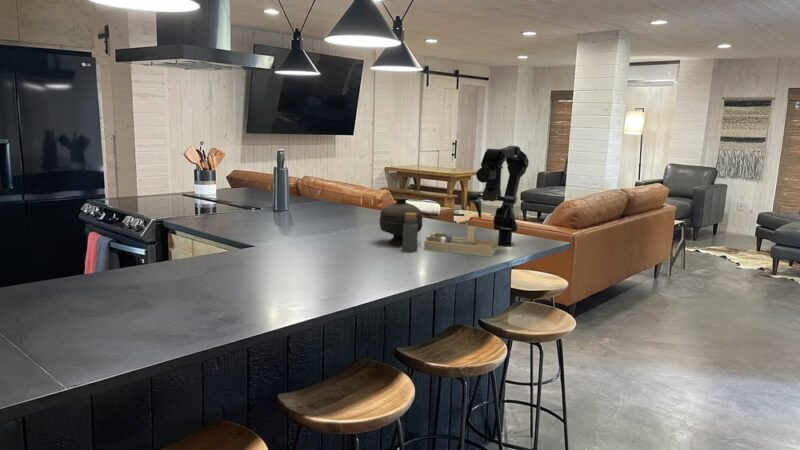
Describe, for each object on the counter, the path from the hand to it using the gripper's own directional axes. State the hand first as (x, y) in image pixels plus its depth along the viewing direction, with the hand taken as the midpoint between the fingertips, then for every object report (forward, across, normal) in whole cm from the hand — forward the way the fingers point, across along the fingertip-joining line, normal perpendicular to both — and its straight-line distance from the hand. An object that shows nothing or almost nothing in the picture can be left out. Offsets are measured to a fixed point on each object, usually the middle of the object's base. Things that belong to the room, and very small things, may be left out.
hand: (491, 219), depth 234 cm
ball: (+10, -18, -5) cm, 21 cm away
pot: (+13, -36, -7) cm, 39 cm away
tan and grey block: (+11, -11, -5) cm, 16 cm away
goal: (+12, -21, -5) cm, 25 cm away
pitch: (+13, -10, -5) cm, 17 cm away
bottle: (+13, -28, -18) cm, 36 cm away
